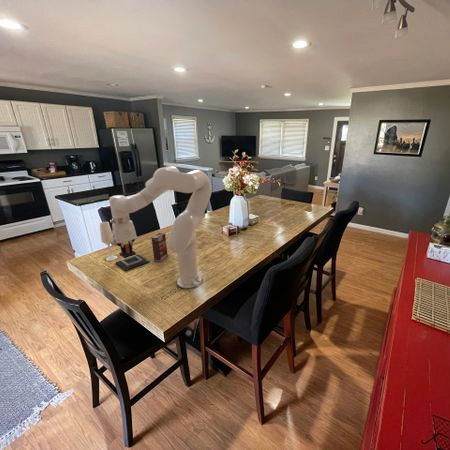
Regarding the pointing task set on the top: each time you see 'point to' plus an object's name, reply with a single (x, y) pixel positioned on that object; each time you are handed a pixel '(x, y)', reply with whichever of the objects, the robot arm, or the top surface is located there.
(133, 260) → the base pad
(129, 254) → the stud pad
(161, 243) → the supplement box
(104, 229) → the champagne flute
